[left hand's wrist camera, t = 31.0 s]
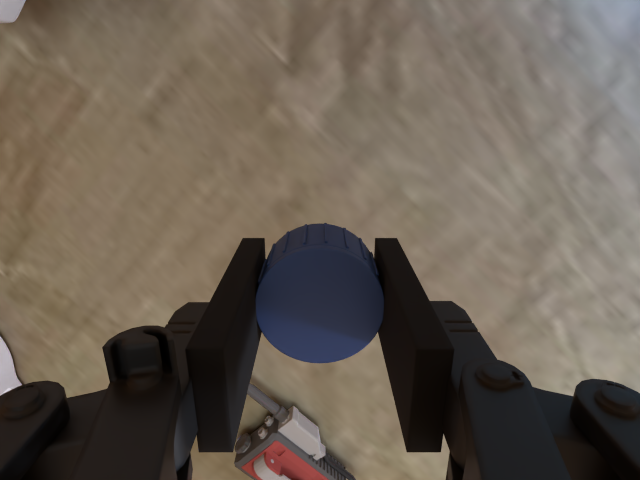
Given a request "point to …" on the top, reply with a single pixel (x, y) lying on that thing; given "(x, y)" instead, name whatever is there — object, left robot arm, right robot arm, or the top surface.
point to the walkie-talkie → (285, 447)
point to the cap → (319, 294)
